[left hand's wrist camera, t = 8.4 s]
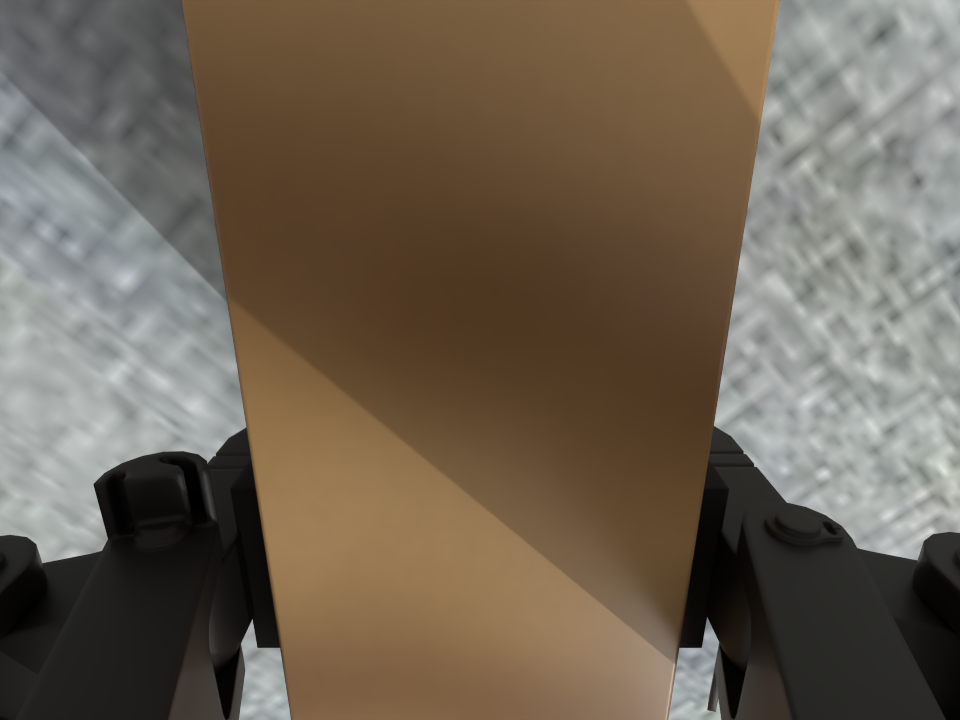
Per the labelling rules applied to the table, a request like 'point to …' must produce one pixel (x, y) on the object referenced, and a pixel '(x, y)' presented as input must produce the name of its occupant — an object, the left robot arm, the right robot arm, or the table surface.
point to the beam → (480, 332)
